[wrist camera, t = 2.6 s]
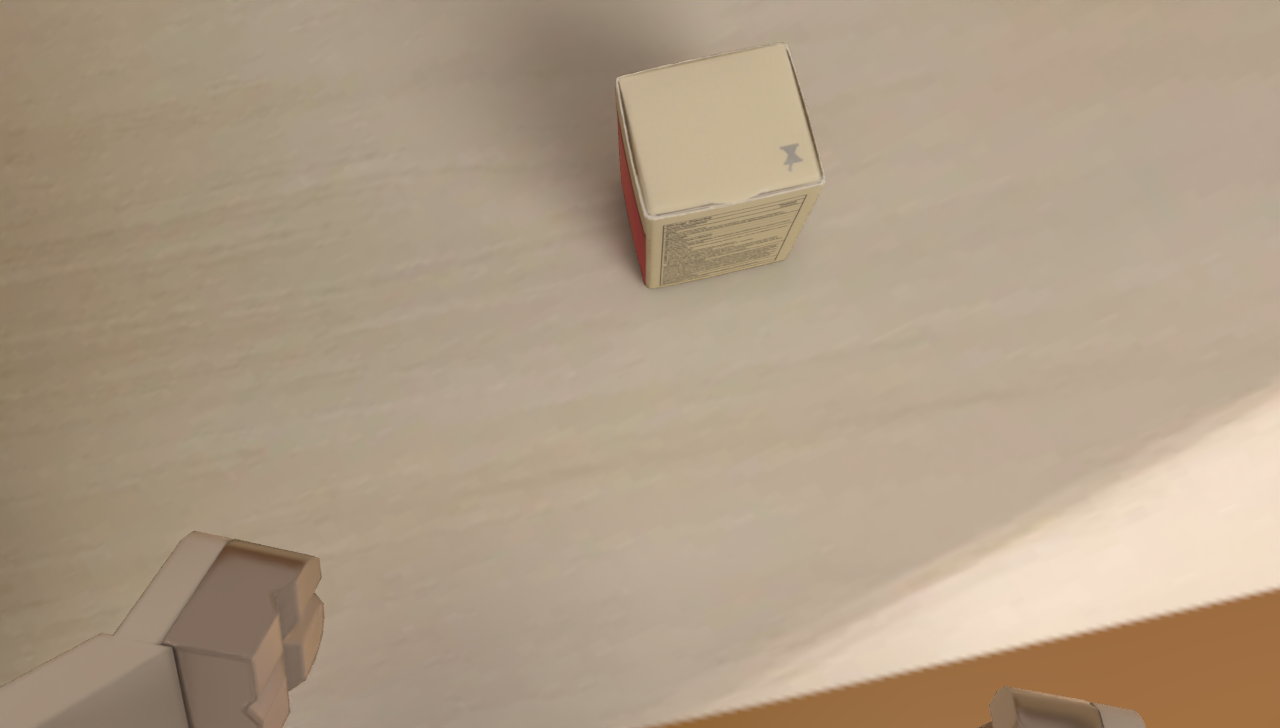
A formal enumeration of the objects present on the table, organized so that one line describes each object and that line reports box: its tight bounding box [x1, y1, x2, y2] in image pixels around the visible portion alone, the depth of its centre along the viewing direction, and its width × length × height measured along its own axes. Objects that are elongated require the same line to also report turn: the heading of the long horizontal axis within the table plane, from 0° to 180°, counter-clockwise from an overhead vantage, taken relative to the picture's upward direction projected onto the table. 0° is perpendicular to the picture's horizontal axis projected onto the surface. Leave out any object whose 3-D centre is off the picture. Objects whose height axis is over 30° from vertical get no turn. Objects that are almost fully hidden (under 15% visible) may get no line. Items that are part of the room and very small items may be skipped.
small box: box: [615, 42, 826, 289], centre depth 31 cm, size 5×4×8 cm
